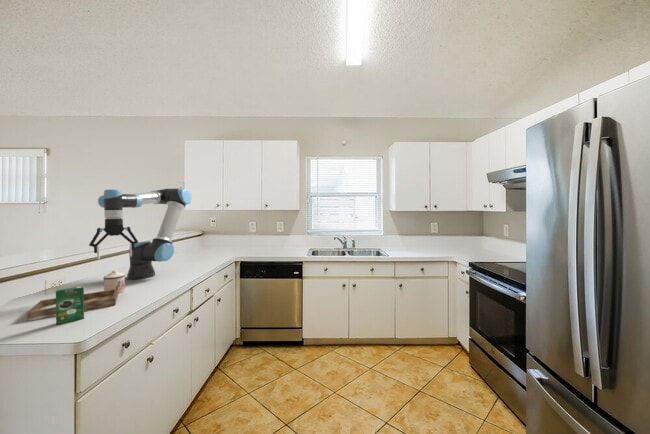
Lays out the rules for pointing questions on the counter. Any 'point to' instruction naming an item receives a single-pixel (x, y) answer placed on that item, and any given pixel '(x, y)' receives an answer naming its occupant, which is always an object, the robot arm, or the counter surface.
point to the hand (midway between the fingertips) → (115, 257)
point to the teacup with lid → (114, 281)
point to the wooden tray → (90, 302)
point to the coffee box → (69, 304)
